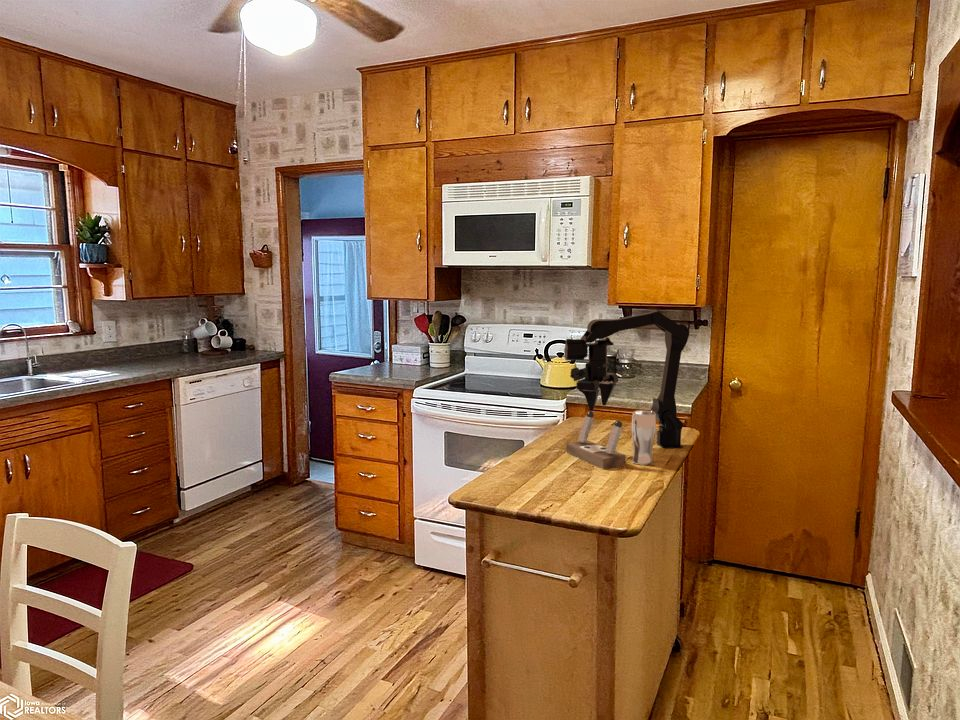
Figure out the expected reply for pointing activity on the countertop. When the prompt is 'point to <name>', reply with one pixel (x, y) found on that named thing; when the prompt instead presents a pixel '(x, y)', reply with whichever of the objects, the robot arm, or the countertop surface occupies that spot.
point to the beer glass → (643, 436)
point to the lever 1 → (586, 427)
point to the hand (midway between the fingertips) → (597, 407)
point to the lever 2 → (614, 437)
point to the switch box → (595, 454)
